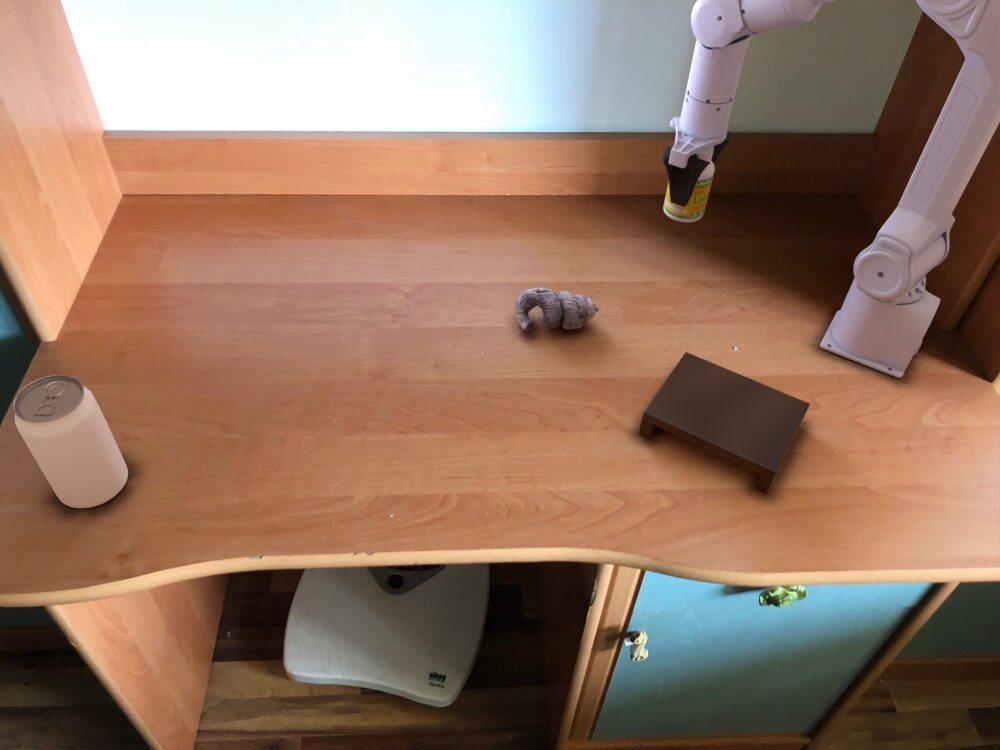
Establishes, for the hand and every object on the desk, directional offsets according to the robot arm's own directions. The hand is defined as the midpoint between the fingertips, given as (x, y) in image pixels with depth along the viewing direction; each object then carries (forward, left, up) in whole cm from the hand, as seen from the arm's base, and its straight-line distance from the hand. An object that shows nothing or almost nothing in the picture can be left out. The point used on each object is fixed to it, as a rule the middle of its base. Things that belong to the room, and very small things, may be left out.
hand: (687, 193), depth 104 cm
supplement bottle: (0, 0, -3) cm, 3 cm away
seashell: (+5, +25, -8) cm, 27 cm away
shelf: (-18, +30, -7) cm, 36 cm away
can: (+30, +71, -8) cm, 77 cm away
